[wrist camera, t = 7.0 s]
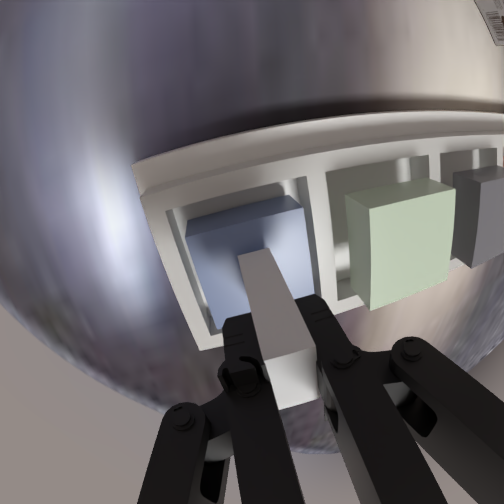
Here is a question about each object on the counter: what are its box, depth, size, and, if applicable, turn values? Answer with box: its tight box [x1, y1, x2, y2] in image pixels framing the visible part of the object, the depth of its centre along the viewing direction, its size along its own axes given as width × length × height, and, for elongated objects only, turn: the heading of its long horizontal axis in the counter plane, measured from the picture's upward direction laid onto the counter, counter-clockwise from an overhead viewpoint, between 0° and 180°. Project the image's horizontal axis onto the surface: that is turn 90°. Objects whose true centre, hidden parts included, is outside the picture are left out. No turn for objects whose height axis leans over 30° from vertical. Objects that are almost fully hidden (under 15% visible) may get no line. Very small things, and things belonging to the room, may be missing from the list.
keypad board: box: [131, 110, 504, 351], centre depth 18 cm, size 13×34×4 cm, turn 102°
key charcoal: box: [451, 165, 504, 269], centre depth 15 cm, size 6×6×2 cm
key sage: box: [345, 177, 456, 311], centre depth 14 cm, size 6×6×2 cm
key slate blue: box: [185, 195, 315, 330], centre depth 16 cm, size 6×6×2 cm
